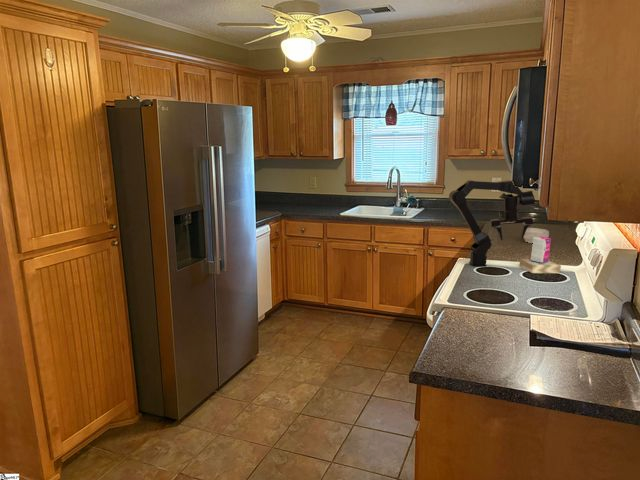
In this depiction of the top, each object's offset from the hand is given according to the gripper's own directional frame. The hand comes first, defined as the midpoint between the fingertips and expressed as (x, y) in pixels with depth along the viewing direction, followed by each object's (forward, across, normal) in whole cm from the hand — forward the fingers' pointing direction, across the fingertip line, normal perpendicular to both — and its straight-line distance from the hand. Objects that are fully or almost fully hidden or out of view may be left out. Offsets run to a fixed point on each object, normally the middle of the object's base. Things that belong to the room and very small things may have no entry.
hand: (511, 239), depth 231 cm
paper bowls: (+17, -24, -67) cm, 73 cm away
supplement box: (+10, -11, +6) cm, 16 cm away
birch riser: (+14, -11, +6) cm, 18 cm away
